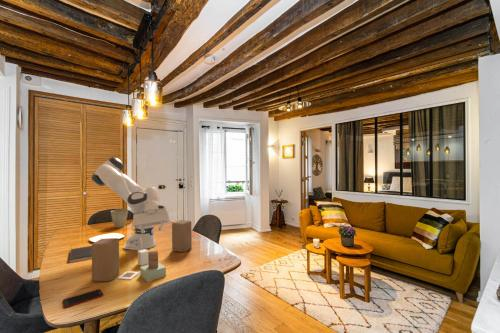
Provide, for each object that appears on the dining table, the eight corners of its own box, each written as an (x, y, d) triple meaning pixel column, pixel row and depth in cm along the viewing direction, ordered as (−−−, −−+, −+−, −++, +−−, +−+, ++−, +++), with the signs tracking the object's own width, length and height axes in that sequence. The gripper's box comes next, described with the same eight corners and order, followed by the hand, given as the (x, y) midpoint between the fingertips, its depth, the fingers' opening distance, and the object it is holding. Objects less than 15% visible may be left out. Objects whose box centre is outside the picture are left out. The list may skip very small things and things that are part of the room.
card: (117, 279, 129) (117, 277, 129) (126, 272, 137) (126, 270, 137) (131, 279, 128) (131, 278, 128) (139, 273, 136) (139, 271, 136)
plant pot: (107, 228, 229) (107, 211, 229) (118, 224, 244) (118, 208, 244) (121, 229, 227) (121, 212, 226) (131, 225, 241) (131, 209, 241)
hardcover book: (97, 248, 178) (97, 244, 178) (98, 258, 159) (98, 254, 159) (70, 252, 169) (70, 249, 169) (68, 263, 150) (68, 260, 150)
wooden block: (101, 273, 135) (101, 238, 135) (120, 272, 136) (119, 237, 136) (91, 282, 125) (90, 244, 125) (111, 281, 126) (111, 243, 126)
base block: (140, 276, 133) (140, 267, 133) (158, 270, 140) (158, 261, 140) (147, 282, 126) (147, 272, 126) (165, 276, 133) (165, 267, 133)
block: (192, 248, 175) (191, 220, 175) (182, 253, 166) (182, 223, 166) (181, 246, 179) (181, 219, 179) (171, 250, 170) (171, 222, 170)
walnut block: (148, 266, 134) (148, 252, 134) (157, 264, 136) (156, 250, 136) (149, 269, 130) (149, 254, 130) (158, 267, 132) (158, 253, 132)
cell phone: (62, 301, 109) (62, 299, 109) (100, 290, 118) (100, 288, 118) (63, 309, 103) (63, 307, 103) (103, 297, 112) (103, 294, 112)
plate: (99, 246, 181) (99, 243, 181) (84, 241, 193) (84, 238, 193) (129, 238, 200) (129, 235, 200) (113, 234, 213) (113, 231, 213)
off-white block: (137, 264, 148) (137, 251, 148) (145, 261, 152) (145, 249, 151) (141, 266, 145) (141, 252, 145) (148, 263, 149) (148, 250, 149)
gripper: (132, 210, 144) (130, 232, 135) (168, 205, 148) (168, 226, 140) (134, 215, 148) (133, 236, 140) (169, 210, 153) (170, 230, 145)
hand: (151, 231), depth 140 cm, fingers open, 8 cm apart
